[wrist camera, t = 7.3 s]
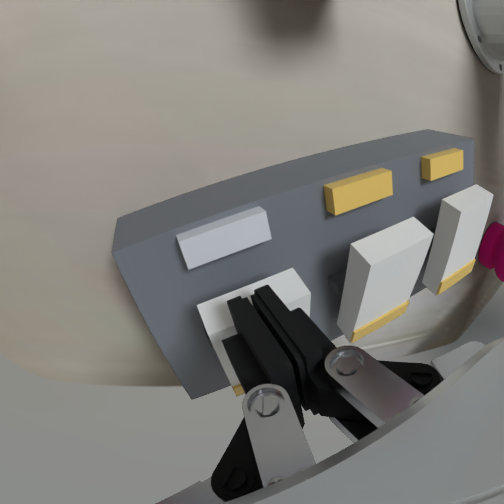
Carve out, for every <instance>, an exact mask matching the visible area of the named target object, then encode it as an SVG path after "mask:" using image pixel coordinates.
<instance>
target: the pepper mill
mask: <svg viewBox="0 0 504 504" xmlns="http://www.w3.org/2000/svg"><path fill="white" fill-rule="evenodd" d="M479 261H480V263H481V264H482V265H484V266H485V267H487V268H489V269H493V268H495V272H496V275H497V277H498V278H499V279H500V280H501V281H503V282H504V226H503V225H501V224H499V223H497V222H495V223H493V224H492V225H490V227H489V228H488V229H487V231H486V233H485V235H484V237H483V239H482V242H481V245H480V249H479Z"/></svg>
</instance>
